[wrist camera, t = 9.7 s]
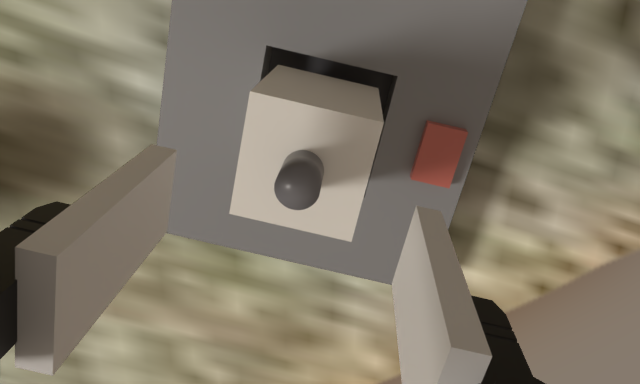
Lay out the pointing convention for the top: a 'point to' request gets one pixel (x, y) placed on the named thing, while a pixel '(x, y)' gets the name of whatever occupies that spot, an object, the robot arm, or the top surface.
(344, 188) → the plug
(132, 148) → the top surface
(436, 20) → the socket
